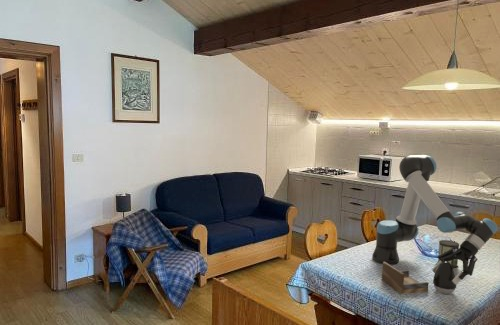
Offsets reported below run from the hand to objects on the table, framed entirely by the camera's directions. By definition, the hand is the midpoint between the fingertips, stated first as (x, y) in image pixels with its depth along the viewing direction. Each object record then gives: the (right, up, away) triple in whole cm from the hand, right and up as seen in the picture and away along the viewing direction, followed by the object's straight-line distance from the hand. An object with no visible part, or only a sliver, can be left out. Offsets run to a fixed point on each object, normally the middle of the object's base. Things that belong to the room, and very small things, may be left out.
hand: (443, 277), depth 184 cm
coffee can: (+20, -5, +36) cm, 41 cm away
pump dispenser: (+1, -8, +1) cm, 8 cm away
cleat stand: (-15, -7, +8) cm, 18 cm away
